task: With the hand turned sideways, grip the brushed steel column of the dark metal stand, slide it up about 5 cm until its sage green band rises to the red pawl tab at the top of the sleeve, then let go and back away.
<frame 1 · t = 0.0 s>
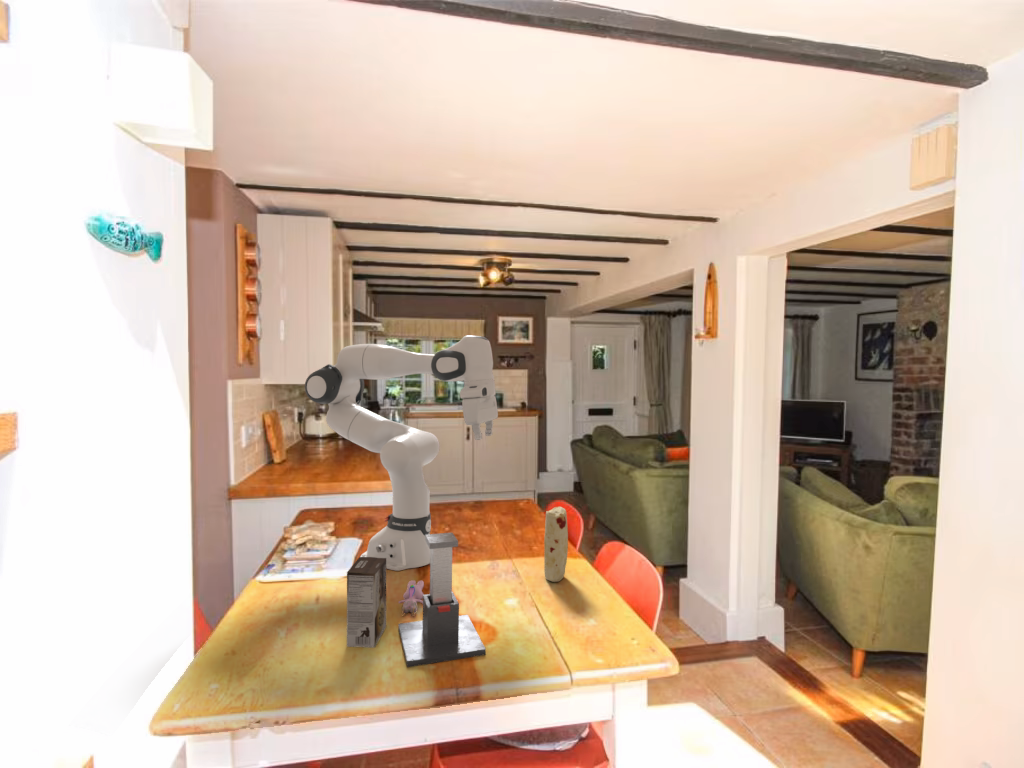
hand: (483, 437, 156), 39 cm above the table, tool pointing down, fingers open, 8 cm apart
rabbit figure: (412, 604, 133), on the table
stand base: (440, 641, 115), on the table
food model: (555, 578, 151), on the table
coffee box: (366, 637, 117), on the table
steel column: (440, 586, 115), point 12 cm above the table, slide at 0.0 cm
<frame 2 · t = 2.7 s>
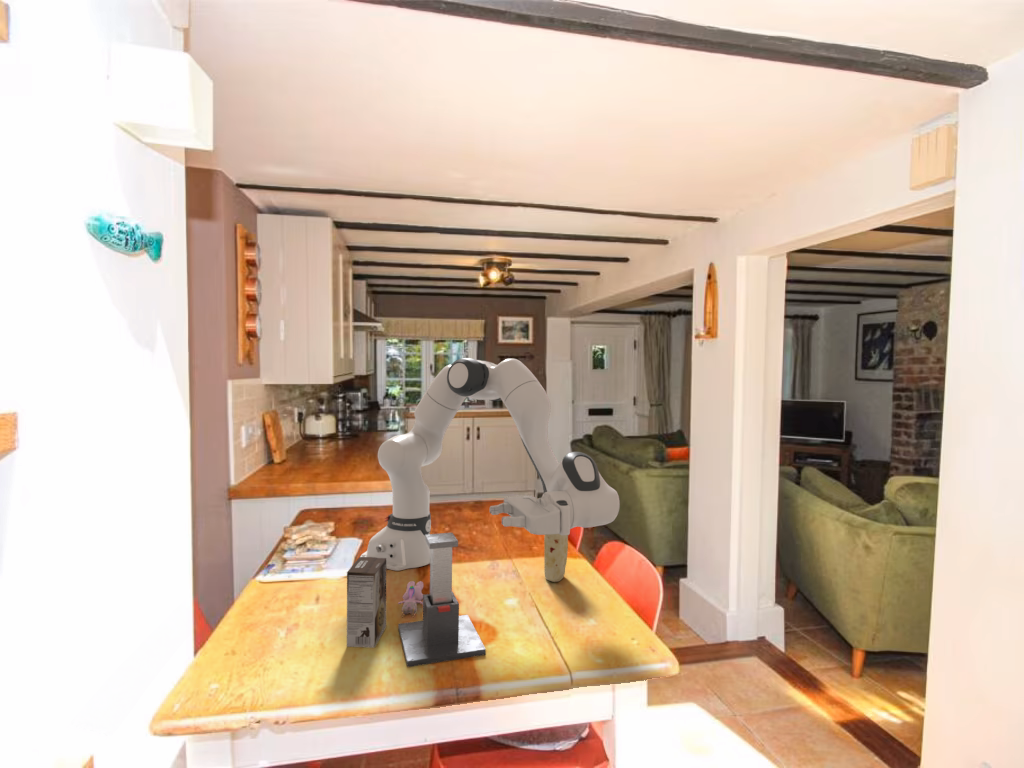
hand: (496, 515, 118), 26 cm above the table, tool horizontal, fingers open, 8 cm apart
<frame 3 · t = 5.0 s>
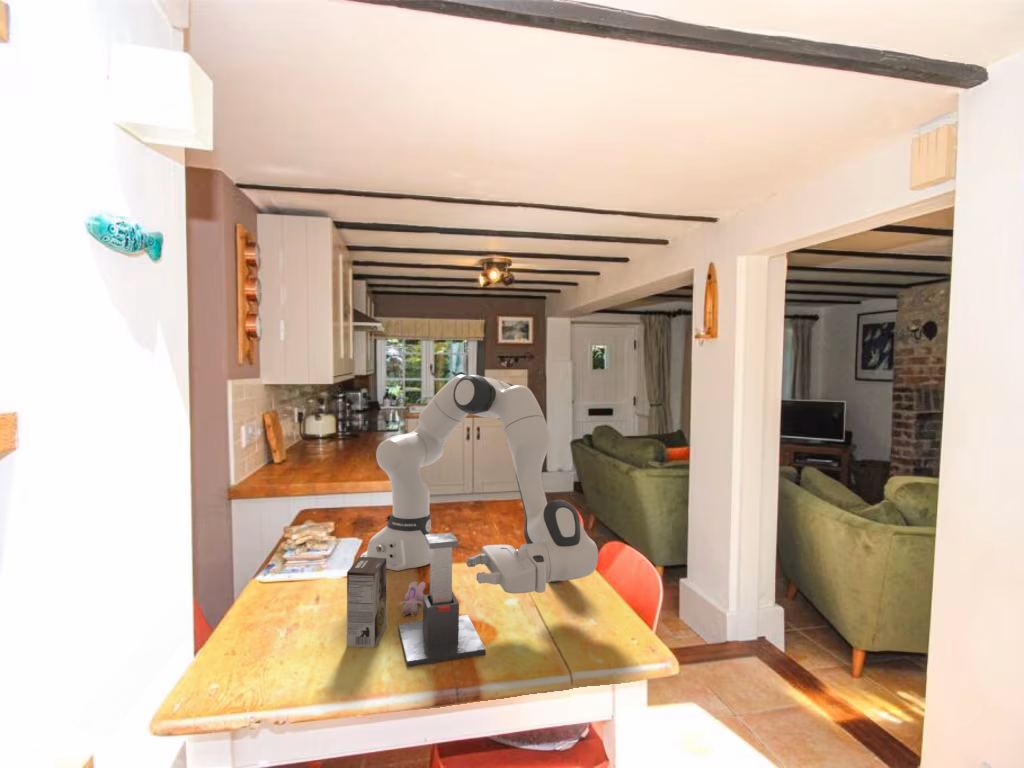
hand: (471, 569, 117), 15 cm above the table, tool horizontal, fingers open, 8 cm apart
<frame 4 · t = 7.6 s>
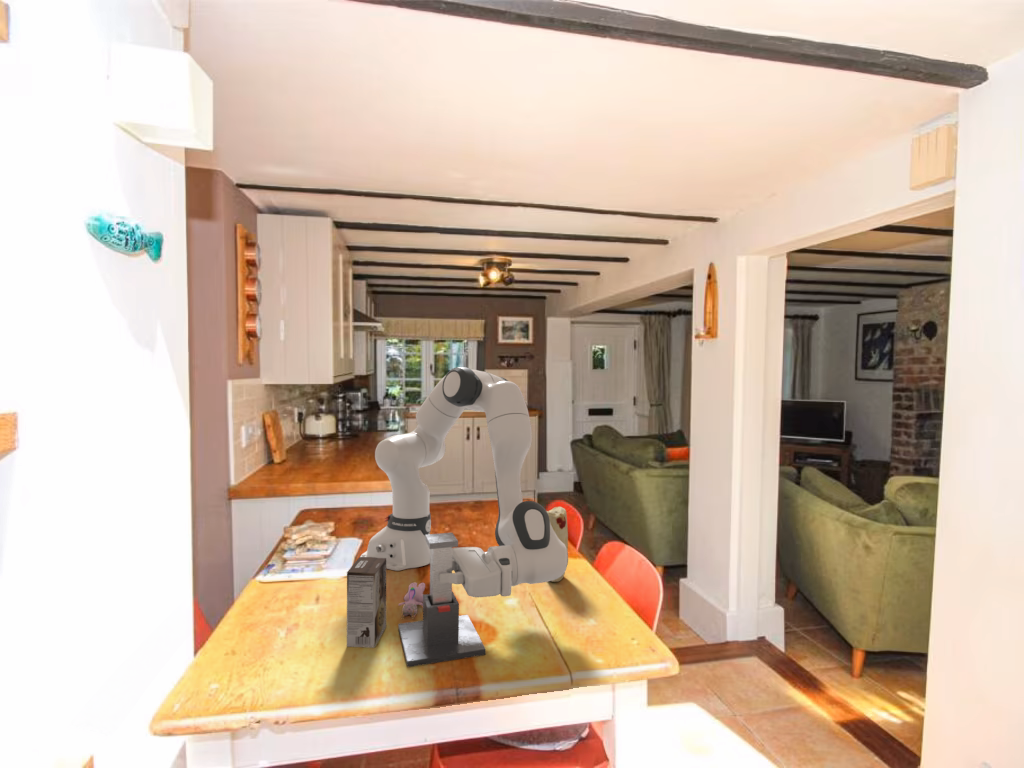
hand: (436, 573, 114), 15 cm above the table, tool horizontal, fingers closed on steel column, 4 cm apart
steel column: (440, 586, 115), point 12 cm above the table, slide at 0.0 cm, touching gripper
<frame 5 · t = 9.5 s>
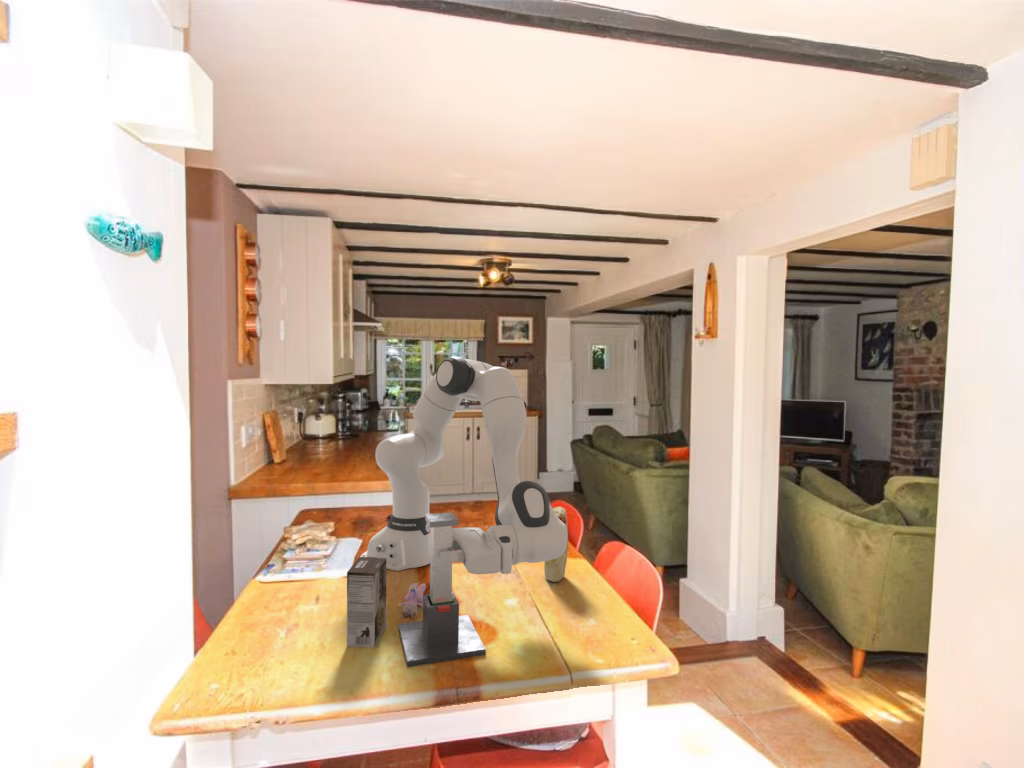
hand: (437, 551, 114), 20 cm above the table, tool horizontal, fingers closed on steel column, 4 cm apart
steel column: (441, 565, 115), point 16 cm above the table, slide at 4.5 cm, touching gripper
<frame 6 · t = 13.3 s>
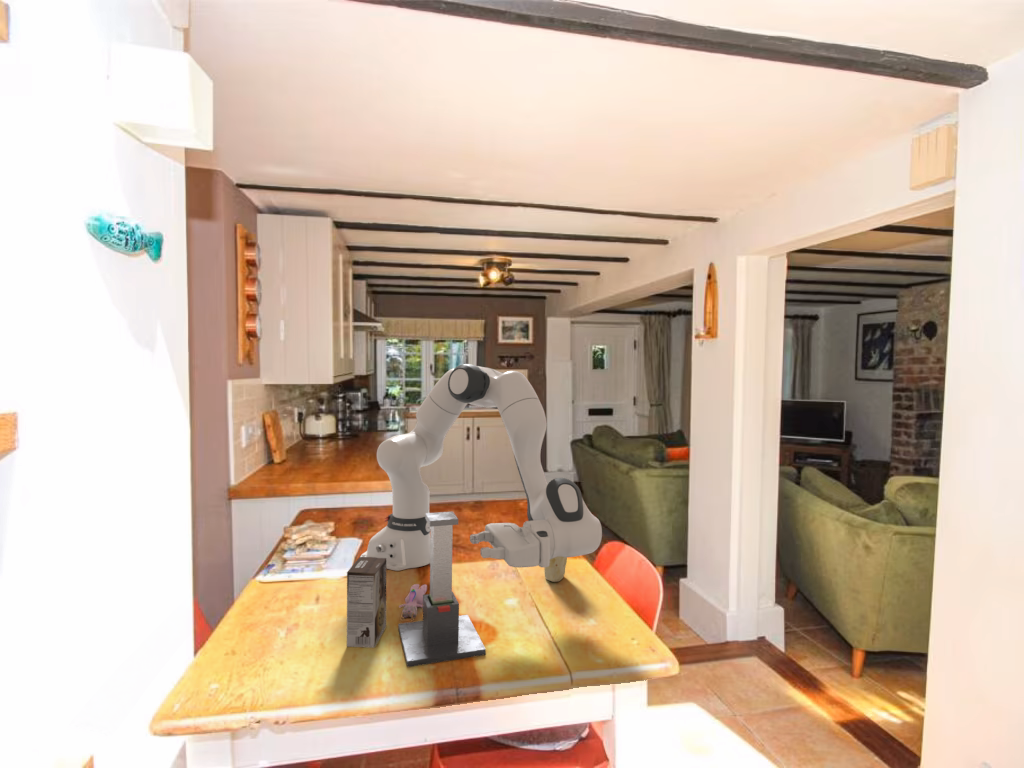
hand: (475, 545, 117), 20 cm above the table, tool horizontal, fingers open, 8 cm apart
steel column: (441, 564, 115), point 17 cm above the table, slide at 4.7 cm
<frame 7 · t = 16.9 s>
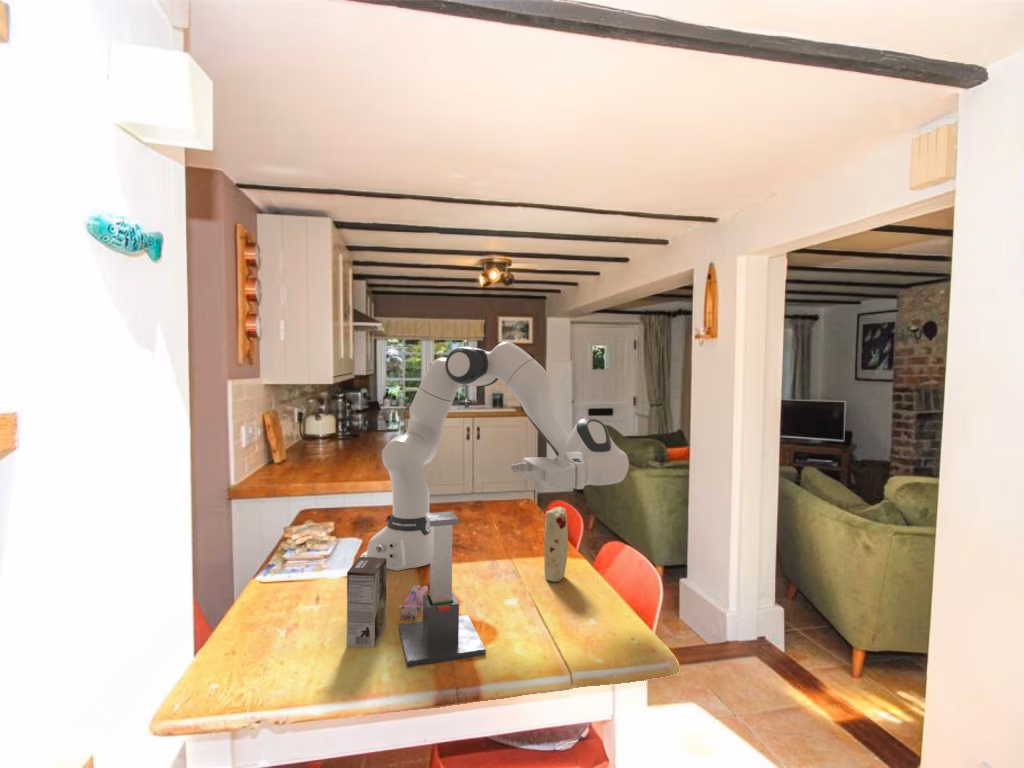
hand: (516, 471, 130), 34 cm above the table, tool horizontal, fingers open, 8 cm apart
at the end: steel column slide at 4.7 cm; the gripper is holding nothing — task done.
